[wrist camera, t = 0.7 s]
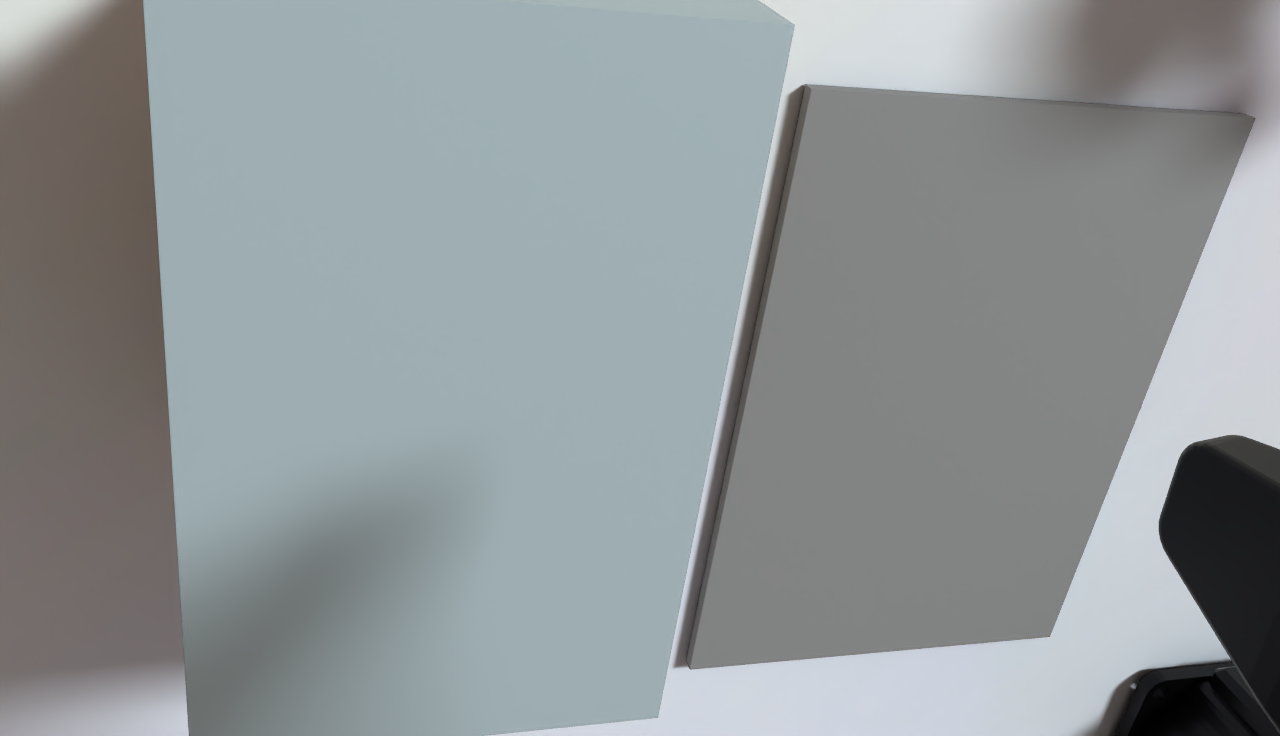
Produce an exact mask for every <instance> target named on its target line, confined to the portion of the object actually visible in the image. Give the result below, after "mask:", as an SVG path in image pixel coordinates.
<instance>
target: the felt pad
mask: <svg viewBox="0 0 1280 736" xmlns="http://www.w3.org/2000/svg"><path fill="white" fill-rule="evenodd" d="M1254 121H1255V118H1254V117H1252V116H1249V115H1247V114H1242V113H1227V112H1212V111H1197V110H1183V109H1168V108H1153V107H1138V106H1123V105H1108V104H1093V103H1078V102H1063V101H1048V100H1033V99H1018V98H1003V97H988V96H973V95H958V94H943V93H928V92H913V91H898V90H883V89H868V88H853V87H838V86H823V85H808V84H805V88H804V93H803V98H802V103H801V107H800V112H799V117H798V122H797V127H796V132H795V136H794V141H793V146H792V151H791V156H790V161H789V165H788V170H787V175H786V180H785V185H784V190H783V195H782V199H781V204H780V209H779V214H778V219H777V224H776V228H775V233H774V238H773V243H772V248H771V253H770V257H769V262H768V267H767V272H766V277H765V282H764V286H763V291H762V296H761V301H760V306H759V311H758V315H757V320H756V325H755V330H754V335H753V340H752V344H751V349H750V354H749V359H748V364H747V369H746V373H745V378H744V383H743V388H742V393H741V398H740V403H739V407H738V412H737V417H736V422H735V427H734V432H733V436H732V441H731V446H730V451H729V456H728V461H727V465H726V470H725V475H724V480H723V485H722V490H721V494H720V499H719V504H718V509H717V514H716V519H715V523H714V528H713V533H712V538H711V543H710V548H709V552H708V557H707V562H706V567H705V572H704V577H703V581H702V586H701V591H700V596H699V601H698V606H697V611H696V615H695V620H694V625H693V630H692V635H691V640H690V644H689V649H688V654H687V659H686V662H687V664H688V666H689V669H701V668H712V667H723V666H734V665H745V664H756V663H767V662H778V661H789V660H800V659H811V658H822V657H833V656H844V655H855V654H866V653H877V652H888V651H899V650H910V649H921V648H933V647H944V646H955V645H966V644H977V643H988V642H999V641H1010V640H1021V639H1032V638H1043V637H1050V635H1051V632H1052V630H1053V627H1054V625H1055V622H1056V620H1057V617H1058V615H1059V612H1060V610H1061V607H1062V605H1063V602H1064V600H1065V597H1066V595H1067V592H1068V590H1069V587H1070V584H1071V582H1072V579H1073V577H1074V574H1075V572H1076V569H1077V567H1078V564H1079V562H1080V559H1081V557H1082V554H1083V552H1084V549H1085V547H1086V544H1087V542H1088V539H1089V537H1090V534H1091V532H1092V529H1093V527H1094V524H1095V521H1096V519H1097V516H1098V514H1099V511H1100V509H1101V506H1102V504H1103V501H1104V499H1105V496H1106V494H1107V491H1108V489H1109V486H1110V484H1111V481H1112V479H1113V476H1114V474H1115V471H1116V469H1117V466H1118V463H1119V461H1120V458H1121V456H1122V453H1123V451H1124V448H1125V446H1126V443H1127V441H1128V438H1129V436H1130V433H1131V431H1132V428H1133V426H1134V423H1135V421H1136V418H1137V416H1138V413H1139V411H1140V408H1141V405H1142V403H1143V400H1144V398H1145V395H1146V393H1147V390H1148V388H1149V385H1150V383H1151V380H1152V378H1153V375H1154V373H1155V370H1156V368H1157V365H1158V363H1159V360H1160V358H1161V355H1162V353H1163V350H1164V348H1165V345H1166V342H1167V340H1168V337H1169V335H1170V332H1171V330H1172V327H1173V325H1174V322H1175V320H1176V317H1177V315H1178V312H1179V310H1180V307H1181V305H1182V302H1183V300H1184V297H1185V295H1186V292H1187V290H1188V287H1189V284H1190V282H1191V279H1192V277H1193V274H1194V272H1195V269H1196V267H1197V264H1198V262H1199V259H1200V257H1201V254H1202V252H1203V249H1204V247H1205V244H1206V242H1207V239H1208V237H1209V234H1210V232H1211V229H1212V226H1213V224H1214V221H1215V219H1216V216H1217V214H1218V211H1219V209H1220V206H1221V204H1222V201H1223V199H1224V196H1225V194H1226V191H1227V189H1228V186H1229V184H1230V181H1231V179H1232V176H1233V174H1234V171H1235V168H1236V166H1237V163H1238V161H1239V158H1240V156H1241V153H1242V151H1243V148H1244V146H1245V143H1246V141H1247V138H1248V136H1249V133H1250V131H1251V128H1252V126H1253V123H1254Z"/></svg>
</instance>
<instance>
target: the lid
mask: <svg viewBox="0 0 1280 736" xmlns="http://www.w3.org/2000/svg"><path fill="white" fill-rule="evenodd" d="M143 6H144V23H145V39H146V55H147V71H148V87H149V103H150V119H151V135H152V151H153V167H154V183H155V199H156V215H157V231H158V247H159V263H160V279H161V295H162V311H163V327H164V343H165V359H166V375H167V391H168V407H169V424H170V440H171V456H172V472H173V488H174V504H175V520H176V536H177V552H178V568H179V584H180V600H181V616H182V632H183V648H184V664H185V680H186V696H187V712H188V728H189V736H485V735H495V734H505V733H514V732H524V731H534V730H544V729H553V728H563V727H573V726H583V725H592V724H602V723H612V722H622V721H631V720H641V719H651V718H658V714H659V709H660V704H661V699H662V694H663V689H664V684H665V679H666V674H667V669H668V664H669V659H670V654H671V649H672V644H673V639H674V634H675V628H676V623H677V618H678V613H679V608H680V603H681V598H682V593H683V588H684V583H685V578H686V573H687V568H688V563H689V558H690V553H691V547H692V542H693V537H694V532H695V527H696V522H697V517H698V512H699V507H700V502H701V497H702V492H703V487H704V482H705V477H706V472H707V467H708V461H709V456H710V451H711V446H712V441H713V436H714V431H715V426H716V421H717V416H718V411H719V406H720V401H721V396H722V391H723V386H724V381H725V375H726V370H727V365H728V360H729V355H730V350H731V345H732V340H733V335H734V330H735V325H736V320H737V315H738V310H739V305H740V300H741V294H742V289H743V284H744V279H745V274H746V269H747V264H748V259H749V254H750V249H751V244H752V239H753V234H754V229H755V224H756V219H757V214H758V208H759V203H760V198H761V193H762V188H763V183H764V178H765V173H766V168H767V163H768V158H769V153H770V148H771V143H772V138H773V133H774V127H775V122H776V117H777V112H778V107H779V102H780V97H781V92H782V87H783V82H784V77H785V72H786V67H787V62H788V57H789V52H790V47H791V41H792V36H793V31H794V26H795V25H794V24H792V23H791V22H789V21H788V20H787V19H785V18H784V17H782V16H781V15H779V14H778V13H776V12H775V11H773V10H772V9H770V8H769V7H767V6H766V5H764V4H763V3H761V2H760V1H758V0H143Z"/></svg>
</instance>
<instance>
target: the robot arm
mask: <svg viewBox="0 0 1280 736" xmlns="http://www.w3.org/2000/svg"><path fill="white" fill-rule="evenodd" d="M1159 535H1160V540H1161V543H1162V546H1163V549H1164V551H1165V552H1166V554H1167V556H1168V558H1169V559H1170V561H1171V563H1172V564H1173V566H1174V567H1175V569H1176V571H1177V572H1178V574H1179V576H1180V577H1181V579H1182V580H1183V582H1184V584H1185V585H1186V587H1187V589H1188V590H1189V592H1190V593H1191V595H1192V597H1193V598H1194V600H1195V602H1196V603H1197V605H1198V606H1199V608H1200V610H1201V611H1202V613H1203V615H1204V616H1205V618H1206V619H1207V621H1208V623H1209V624H1210V626H1211V628H1212V629H1213V631H1214V632H1215V634H1216V636H1217V637H1218V639H1219V641H1220V642H1221V644H1222V645H1223V647H1224V649H1225V650H1226V652H1227V654H1228V655H1229V657H1230V658H1231V660H1232V663H1223V664H1213V665H1203V666H1194V667H1184V668H1175V669H1165V670H1157V671H1153V672H1151V673H1149V674H1147V675H1146V676H1144V677H1143V678H1142V679H1141V680H1140V682H1139V683H1138V685H1137V687H1136V689H1135V691H1134V693H1133V696H1132V698H1131V700H1130V702H1129V704H1128V707H1127V709H1126V711H1125V713H1124V715H1123V718H1122V720H1121V722H1120V724H1119V726H1118V729H1117V731H1116V733H1115V735H1114V736H1280V449H1277V448H1274V447H1272V446H1269V445H1266V444H1263V443H1261V442H1258V441H1255V440H1253V439H1250V438H1247V437H1244V436H1238V435H1227V436H1222V437H1218V438H1213V439H1208V440H1203V441H1199V442H1195V443H1193V444H1191V445H1189V446H1188V447H1187V448H1186V449H1185V450H1184V451H1183V452H1182V454H1181V456H1180V458H1179V460H1178V463H1177V466H1176V469H1175V472H1174V475H1173V478H1172V482H1171V485H1170V488H1169V491H1168V494H1167V497H1166V500H1165V503H1164V506H1163V509H1162V512H1161V515H1160V519H1159Z"/></svg>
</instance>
